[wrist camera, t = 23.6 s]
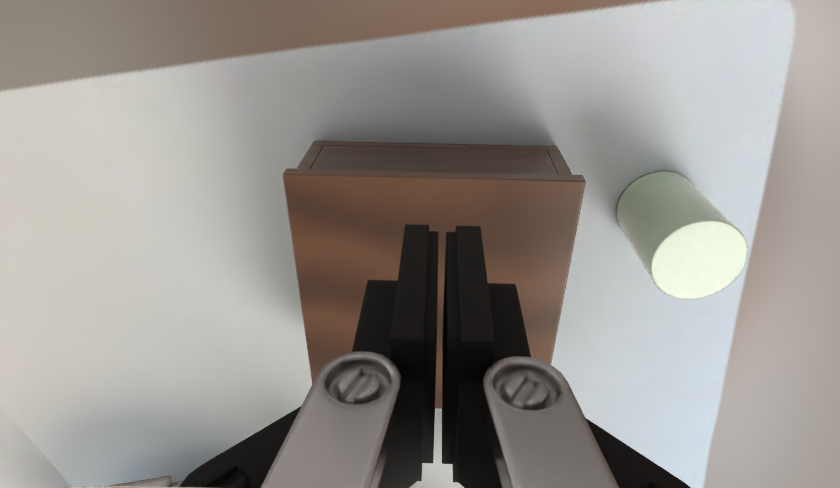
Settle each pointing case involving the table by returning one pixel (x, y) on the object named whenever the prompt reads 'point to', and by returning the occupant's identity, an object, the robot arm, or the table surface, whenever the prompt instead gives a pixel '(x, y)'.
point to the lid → (442, 210)
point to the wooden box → (435, 158)
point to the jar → (680, 236)
